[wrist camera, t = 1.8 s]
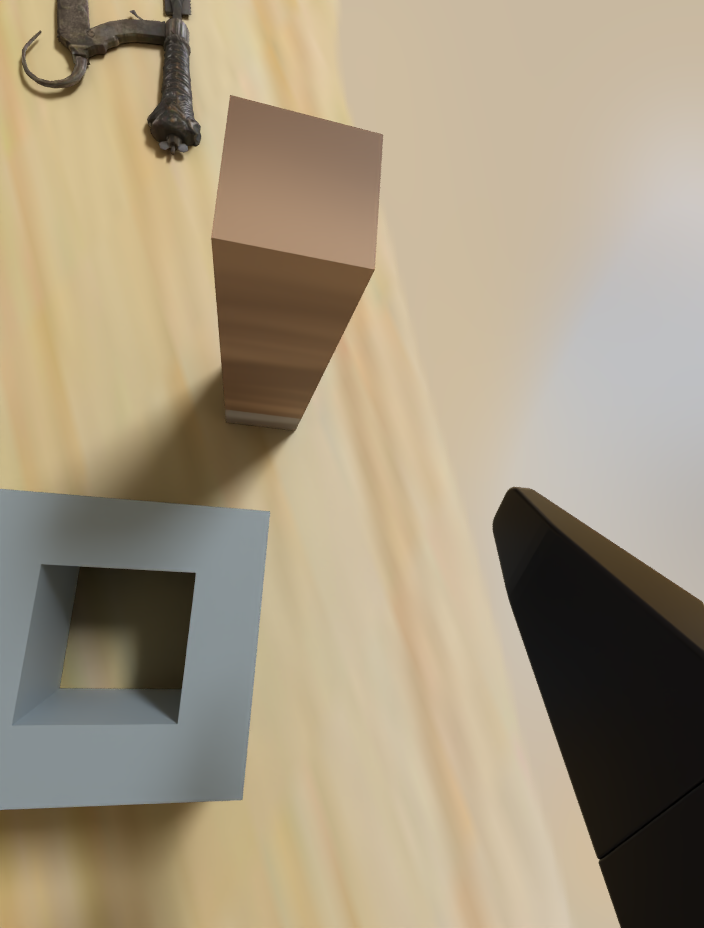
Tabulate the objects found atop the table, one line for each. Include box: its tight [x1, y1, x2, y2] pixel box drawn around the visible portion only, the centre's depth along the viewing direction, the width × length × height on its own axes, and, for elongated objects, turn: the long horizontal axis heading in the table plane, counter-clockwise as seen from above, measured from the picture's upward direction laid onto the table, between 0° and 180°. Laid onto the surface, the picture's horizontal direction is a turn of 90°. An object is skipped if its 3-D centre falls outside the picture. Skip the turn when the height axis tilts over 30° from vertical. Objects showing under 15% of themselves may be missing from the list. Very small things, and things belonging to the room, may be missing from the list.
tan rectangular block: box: [211, 95, 383, 430], centre depth 15 cm, size 3×3×13 cm
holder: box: [0, 489, 270, 810], centre depth 17 cm, size 9×9×4 cm
